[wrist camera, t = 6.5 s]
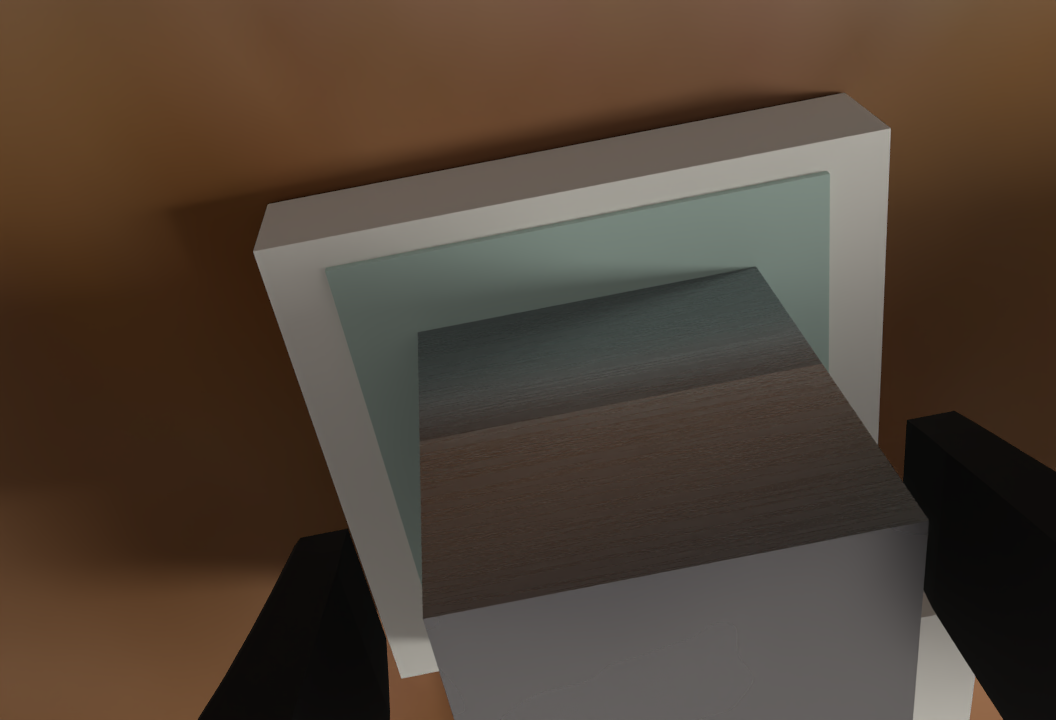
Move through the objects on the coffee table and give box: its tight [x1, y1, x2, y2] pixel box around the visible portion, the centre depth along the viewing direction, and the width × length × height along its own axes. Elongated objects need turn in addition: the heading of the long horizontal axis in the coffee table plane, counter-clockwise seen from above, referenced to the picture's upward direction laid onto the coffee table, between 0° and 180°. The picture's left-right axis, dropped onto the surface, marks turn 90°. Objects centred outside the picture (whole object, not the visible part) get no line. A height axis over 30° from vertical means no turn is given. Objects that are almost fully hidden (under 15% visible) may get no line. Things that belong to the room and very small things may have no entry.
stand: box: [253, 93, 891, 678], centre depth 15 cm, size 8×8×2 cm
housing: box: [418, 267, 929, 720], centre depth 12 cm, size 4×6×5 cm
